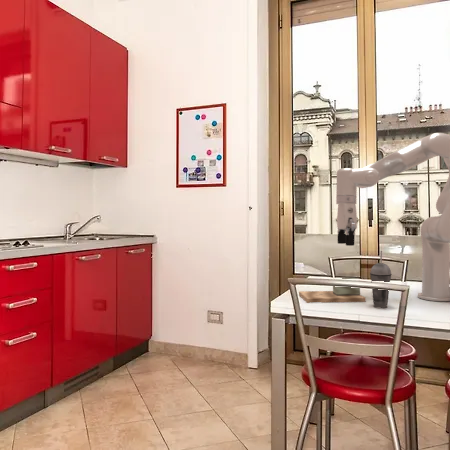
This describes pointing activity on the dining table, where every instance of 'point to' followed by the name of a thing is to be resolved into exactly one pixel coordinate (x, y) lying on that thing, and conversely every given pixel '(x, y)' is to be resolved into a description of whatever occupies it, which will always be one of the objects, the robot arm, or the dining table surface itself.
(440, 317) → the dining table surface
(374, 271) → the beverage cup
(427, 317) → the dining table surface
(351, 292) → the sanding block
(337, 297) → the board
